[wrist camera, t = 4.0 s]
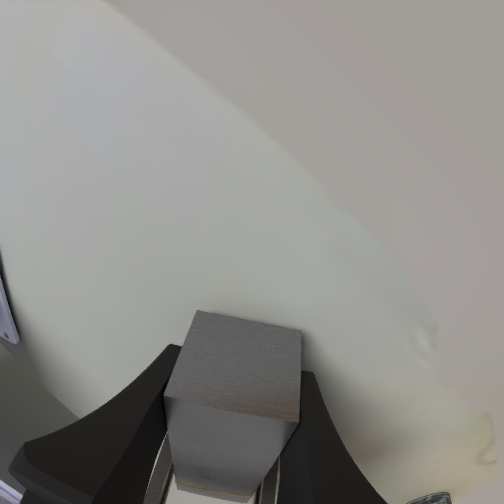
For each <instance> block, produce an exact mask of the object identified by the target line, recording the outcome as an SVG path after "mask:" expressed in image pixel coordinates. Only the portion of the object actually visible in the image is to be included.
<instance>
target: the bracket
mask: <svg viewBox="0 0 504 504" xmlns="http://www.w3.org/2000/svg"><path fill="white" fill-rule="evenodd" d="M278 459H279V456H278V457H277V459H276V461H275V462H274V464H273V465H272V467H271V468H270V470H269V471H268V473H267V474H266V476H265V477H264V479H263V480H262V483H261V491H260V498H259V504H274V502H275V492H276V481H277V470H278ZM171 465H172V456H171V449H170V442H169V436H168V434H167V435H166V437H165V440H164V443H163V446H162V449H161V452H160V454H159V457H158V460H157V463H156V466H155V469H154V472H153V475H152V477H151V481H150V483H149V486H148V489H147V492H146V495H145V498H144V502H143V504H159V503H160V500H161V497H162V494H163V490H164V487H165V484H166V481H167V478H168V474H169V471H170V468H171Z"/></svg>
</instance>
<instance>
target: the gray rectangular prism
mask: <svg viewBox="0 0 504 504" xmlns="http://www.w3.org/2000/svg"><path fill="white" fill-rule="evenodd" d="M301 342H302V331H298V330H293V329H287V328H282V327H276V326H271V325H266V324H261V323H255V322H250V321H245V320H240V319H236V318H231V317H226V316H221V315H217V314H212V313H208V312H203V311H199V310H197V311H196V314H195V316H194V319H193V321H192V324H191V326H190V329H189V331H188V334H187V336H186V339H185V341H184V344H183V346H182V349H181V351H180V354H179V356H178V359H177V361H176V364H175V367H174V369H173V372H172V374H171V377H170V379H169V382H168V385H167V387H166V390H165V392H164V404H165V413H166V421H167V428H168V436H169V442H170V449H171V456H172V462H173V468H174V474H175V483H176V484H177V489H179V490H182V491H186V492H190V493H195V494H199V495H204V496H208V497H213V498H218V499H223V500H229V501H235V502H241V503H247V502H248V500H249V499H250V498H252V496H253V493H254V492H255V490H256V489H257V488H258V486H259V485H260V483H261V482H262V480H263V479H264V477H265V476H266V474H267V473H268V471H269V470H270V468H271V467H272V465H273V464H274V462H275V461H276V459H277V457H278V456H279V454H280V453H281V451H282V450H283V448H284V446H285V445H286V443H287V441H288V440H289V438H290V437H291V435H292V433H293V432H294V430H295V428H296V427H297V425H298V423H299V409H300V383H301Z"/></svg>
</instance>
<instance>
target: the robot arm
mask: <svg viewBox="0 0 504 504" xmlns="http://www.w3.org/2000/svg"><path fill="white" fill-rule="evenodd" d="M0 337H2V338H4V339H6V340H8V341H10V342H12V343H14V344H17V342H18V341H19V336H18V333H17V330H16V327H15V324H14V321H13V318H12V315H11V312H10V309H9V305H8V302H7V299H6V295H5V291H4V288H3V284H2V280H1V276H0ZM181 349H182V346H178V345H174V344H169V345H168V346H167V347H166V348H165V349H164V350H163V352H162V353H161V354H160V355H159V356H158V357H157V358H156V359H155V360H154V361H153V362H152V363H151V364H150V366H149V367H148V368H147V369H146V370H144V371H143V372H142V373H141V374H140V375H139V376H138V377H137V378H136V379H135V380H134V381H133V382H132V383H130V384H129V385H128V386H127V387H126V388H125V389H123V390H122V391H121V392H120V393H119V394H117V395H116V396H115V397H113V398H112V399H111V400H109V401H108V402H107V403H105V404H104V405H102V406H101V407H99V408H98V409H96V410H95V411H93V412H92V413H90V414H88V415H87V416H85V417H83V418H82V419H80V420H78V421H76V422H74V423H73V424H70V425H68V426H66V427H64V428H62V429H60V430H58V431H55V432H53V433H51V434H48V435H45V436H43V437H40V438H37V439H34V440H31V441H28V442H25V443H24V444H23V446H22V447H21V448H20V449H19V451H18V452H17V454H16V455H15V457H14V459H13V461H12V463H11V464H10V466H9V468H8V470H9V473H10V474H11V475H12V476H13V477H14V478H15V479H16V480H17V481H19V483H21V484H22V485H23V486H24V487H25V488H26V491H25V493H24V495H22V494H20V493H19V492H17V491H16V490H14V489H13V488H11V487H10V486H8V485H7V484H5V483H4V482H3V481H1V480H0V504H143V502H144V498H145V494H146V491H147V487H148V483H149V480H150V476H151V473H152V470H153V466H154V463H155V460H156V457H157V454H158V451H159V449H160V447H161V444H162V442H163V440H164V437H165V435H166V433H167V430H168V428H167V421H166V413H165V404H164V392H165V390H166V387H167V385H168V382H169V379H170V377H171V374H172V372H173V369H174V367H175V364H176V361H177V359H178V356H179V354H180V351H181ZM277 504H387V503H386V501H385V500H384V499H383V498H382V497H381V496H380V495H379V494H378V493H377V492H376V490H375V489H374V488H373V487H372V485H371V484H370V483H369V482H368V480H367V479H366V478H365V477H364V475H363V474H362V473H361V471H360V470H359V468H358V467H357V465H356V464H355V463H354V461H353V459H352V458H351V456H350V455H349V453H348V451H347V450H346V448H345V446H344V444H343V442H342V441H341V439H340V437H339V435H338V433H337V431H336V429H335V427H334V425H333V422H332V420H331V418H330V416H329V413H328V411H327V409H326V406H325V404H324V401H323V398H322V396H321V393H320V390H319V387H318V384H317V381H316V378H315V375H314V374H313V372H307V371H301V383H300V409H299V423H298V425H297V427H296V428H295V430H294V432H293V433H292V435H291V437H290V438H289V440H288V441H287V443H286V445H285V446H284V448H283V450H282V451H281V453H280V483H279V491H278V498H277Z"/></svg>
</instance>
